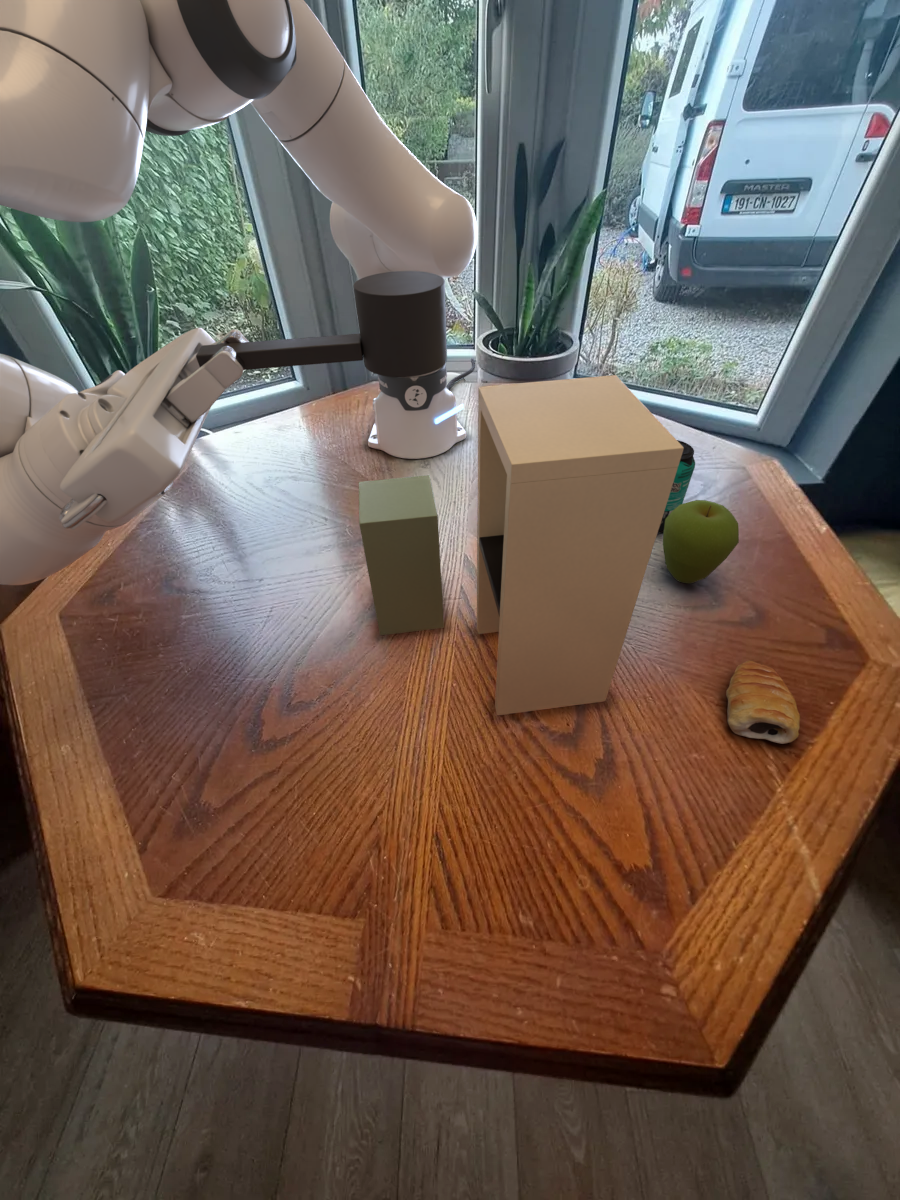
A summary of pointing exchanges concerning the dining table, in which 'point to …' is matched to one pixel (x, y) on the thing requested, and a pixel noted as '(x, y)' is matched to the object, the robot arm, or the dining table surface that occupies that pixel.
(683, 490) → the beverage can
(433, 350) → the measuring cup
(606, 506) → the tall cream box
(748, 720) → the pastry
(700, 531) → the apple
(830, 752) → the dining table surface
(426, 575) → the rectangular block
